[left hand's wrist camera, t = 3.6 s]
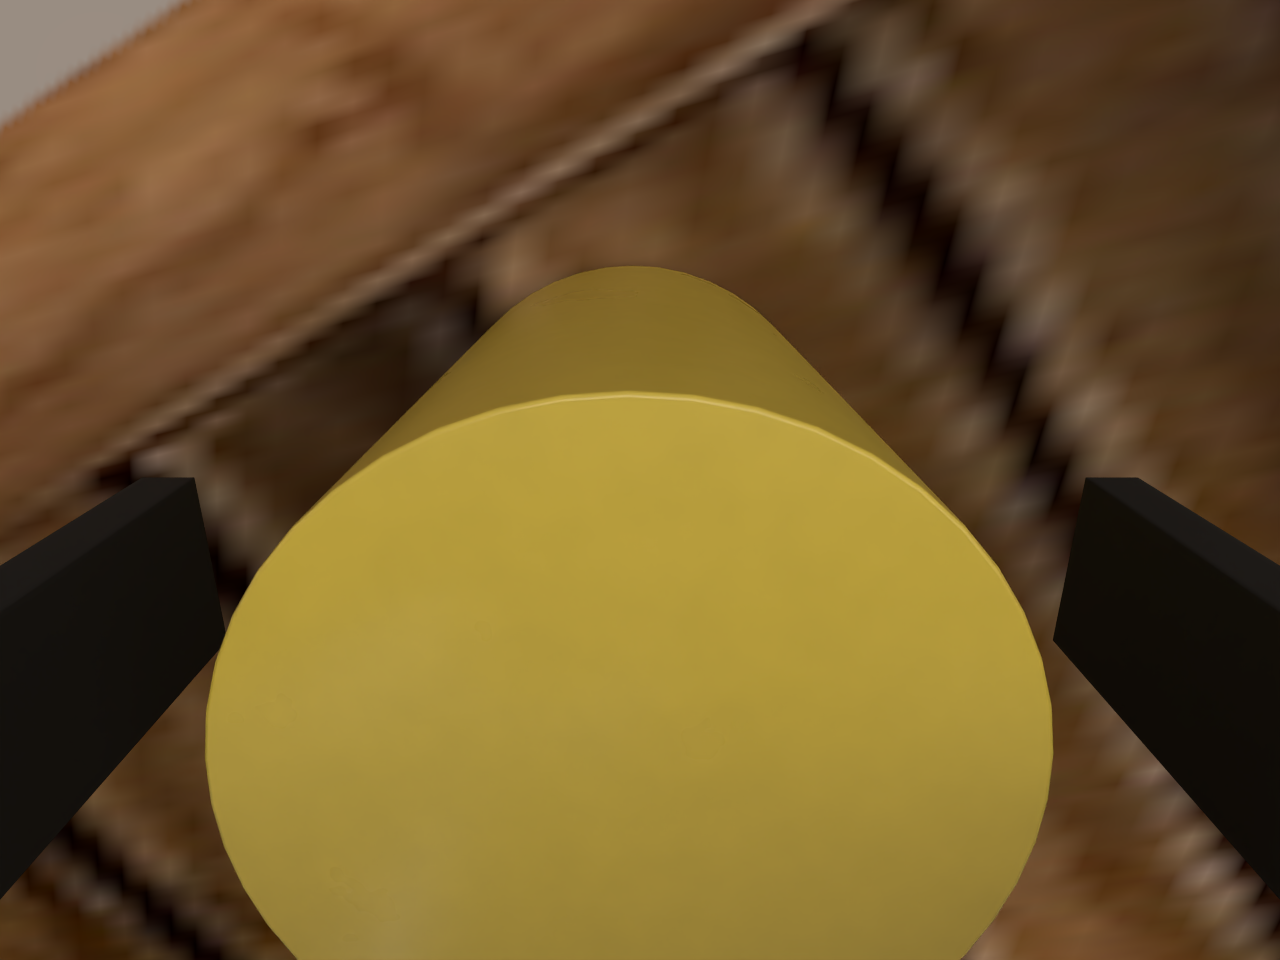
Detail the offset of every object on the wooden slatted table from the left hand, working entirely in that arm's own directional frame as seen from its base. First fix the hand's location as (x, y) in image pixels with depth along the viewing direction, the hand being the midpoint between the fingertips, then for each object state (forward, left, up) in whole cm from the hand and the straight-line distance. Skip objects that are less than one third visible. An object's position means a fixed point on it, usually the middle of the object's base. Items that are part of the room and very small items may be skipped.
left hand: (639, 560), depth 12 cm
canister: (0, 0, -6) cm, 6 cm away
